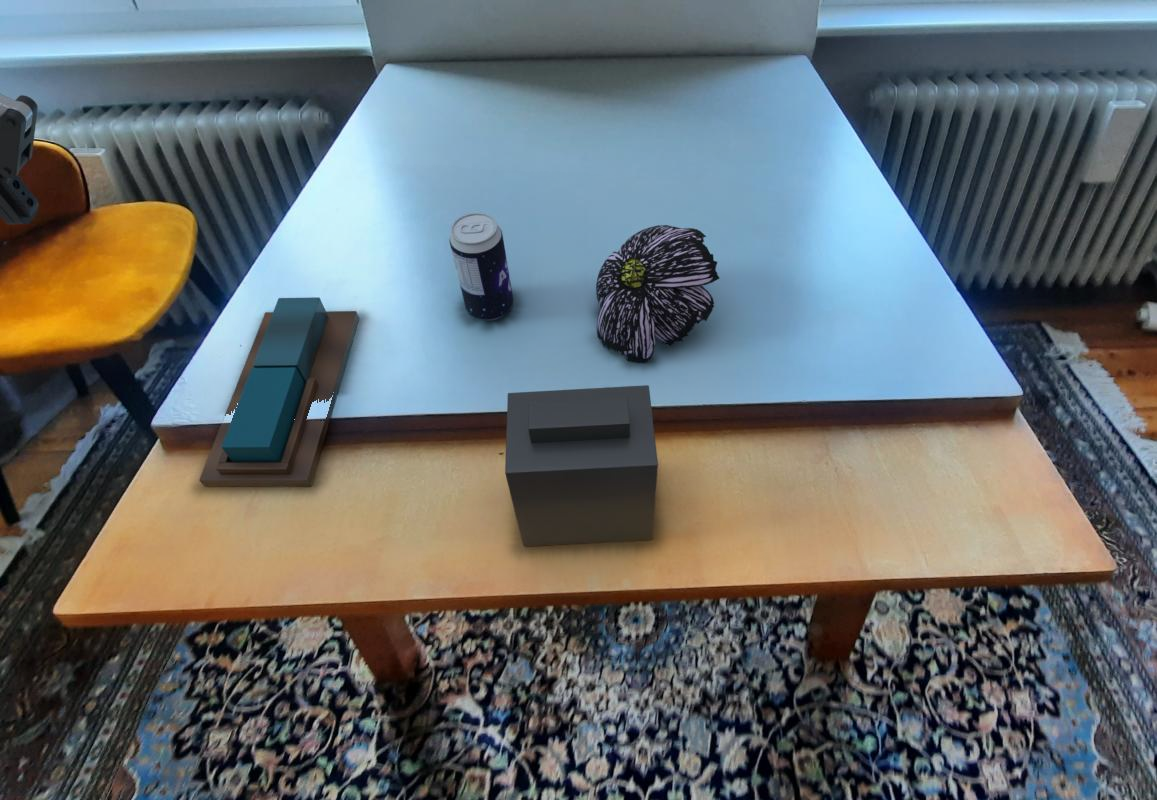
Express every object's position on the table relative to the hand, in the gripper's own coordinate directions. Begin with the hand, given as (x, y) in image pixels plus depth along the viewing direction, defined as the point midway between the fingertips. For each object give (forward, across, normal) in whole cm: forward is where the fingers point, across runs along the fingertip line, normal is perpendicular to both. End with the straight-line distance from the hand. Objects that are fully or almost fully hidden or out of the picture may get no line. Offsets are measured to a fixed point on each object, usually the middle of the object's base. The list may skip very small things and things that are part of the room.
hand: (24, 217), depth 57 cm
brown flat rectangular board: (+27, +10, +3) cm, 29 cm away
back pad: (+26, +10, -2) cm, 28 cm away
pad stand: (+27, +43, -10) cm, 52 cm away
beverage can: (+27, +31, +16) cm, 44 cm away
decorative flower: (+27, +50, +14) cm, 58 cm away
